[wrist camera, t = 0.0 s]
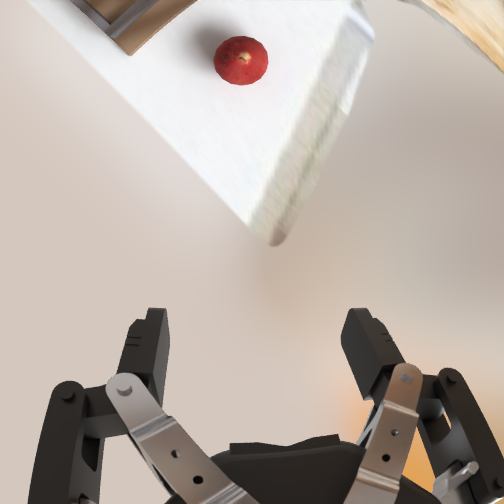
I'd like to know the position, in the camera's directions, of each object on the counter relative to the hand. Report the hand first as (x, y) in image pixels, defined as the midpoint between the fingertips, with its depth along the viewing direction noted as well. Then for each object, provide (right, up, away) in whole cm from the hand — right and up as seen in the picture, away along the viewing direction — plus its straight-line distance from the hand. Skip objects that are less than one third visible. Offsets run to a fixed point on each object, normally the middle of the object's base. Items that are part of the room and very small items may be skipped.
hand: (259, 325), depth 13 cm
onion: (-2, +26, +19) cm, 32 cm away
